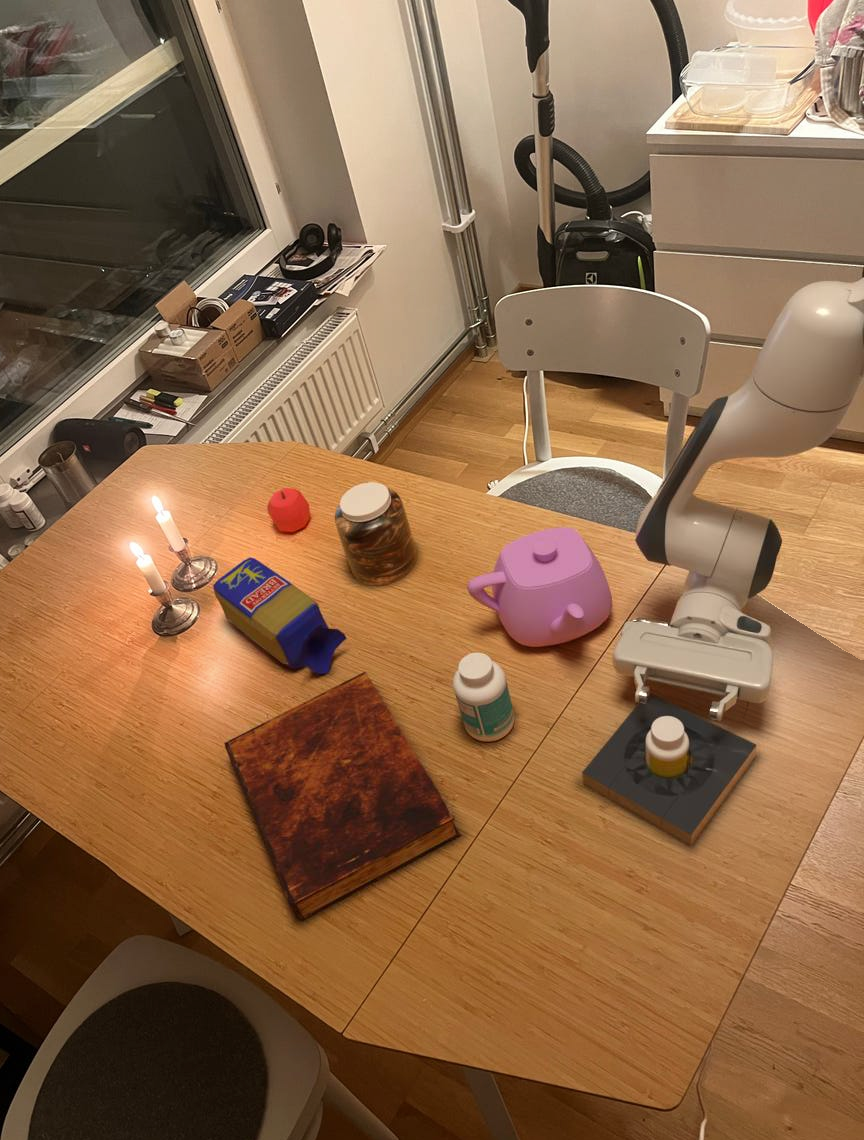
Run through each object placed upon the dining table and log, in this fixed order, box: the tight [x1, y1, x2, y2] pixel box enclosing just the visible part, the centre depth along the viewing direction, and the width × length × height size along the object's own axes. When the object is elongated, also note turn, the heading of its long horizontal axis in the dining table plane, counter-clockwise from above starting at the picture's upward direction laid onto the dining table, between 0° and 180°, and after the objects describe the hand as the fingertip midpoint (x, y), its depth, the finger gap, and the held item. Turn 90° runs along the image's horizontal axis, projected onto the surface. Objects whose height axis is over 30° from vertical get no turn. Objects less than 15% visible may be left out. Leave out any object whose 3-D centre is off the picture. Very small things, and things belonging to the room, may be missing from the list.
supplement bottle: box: [646, 716, 689, 779], centre depth 119 cm, size 5×5×10 cm
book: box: [224, 671, 462, 922], centre depth 129 cm, size 30×24×5 cm
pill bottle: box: [452, 652, 515, 743], centre depth 129 cm, size 8×7×14 cm
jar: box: [334, 481, 418, 587], centre depth 156 cm, size 12×12×15 cm
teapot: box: [466, 526, 613, 648], centre depth 137 cm, size 23×21×15 cm
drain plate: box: [581, 692, 758, 847], centre depth 121 cm, size 16×16×3 cm
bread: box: [212, 557, 347, 675], centre depth 151 cm, size 10×25×10 cm, turn 42°
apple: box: [266, 487, 311, 533], centre depth 171 cm, size 8×8×8 cm
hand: (677, 708), depth 118 cm, fingers open, 8 cm apart
